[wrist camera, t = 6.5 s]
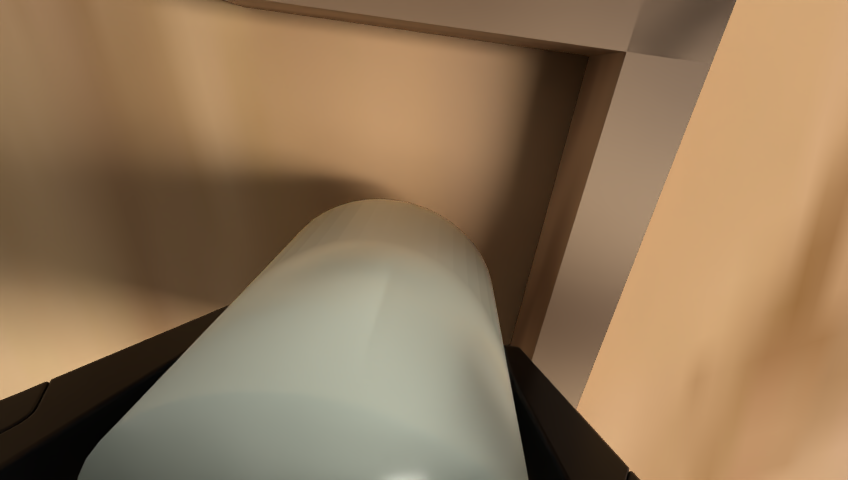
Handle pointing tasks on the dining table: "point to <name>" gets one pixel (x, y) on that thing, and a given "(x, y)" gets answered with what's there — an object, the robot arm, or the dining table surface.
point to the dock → (581, 141)
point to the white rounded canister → (338, 367)
